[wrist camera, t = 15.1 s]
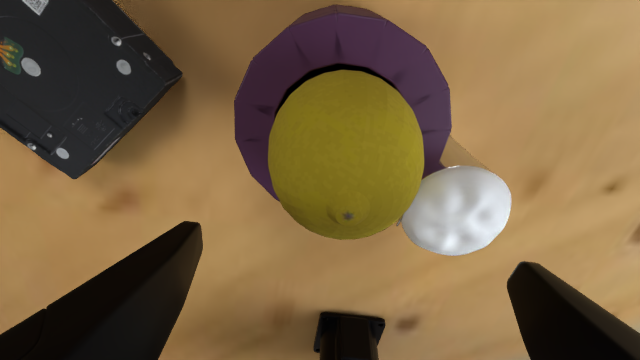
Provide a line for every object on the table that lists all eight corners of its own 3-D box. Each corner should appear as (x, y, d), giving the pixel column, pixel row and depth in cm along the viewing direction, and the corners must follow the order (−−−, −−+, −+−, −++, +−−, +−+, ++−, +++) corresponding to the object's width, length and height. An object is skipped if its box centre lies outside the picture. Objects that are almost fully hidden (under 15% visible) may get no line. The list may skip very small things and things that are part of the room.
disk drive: (190, 70, 19) (-96, -216, 13) (170, 81, 16) (-192, -262, 10) (102, 162, 22) (-151, -26, 16) (75, 183, 20) (-232, -28, 14)
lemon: (418, 72, 14) (503, 152, 7) (375, 174, 17) (404, 303, 10) (298, 36, 13) (262, 85, 6) (274, 149, 16) (231, 266, 9)
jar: (389, 157, 21) (414, 228, 15) (265, 140, 21) (236, 206, 14) (428, 17, 17) (488, 34, 10) (271, -6, 16) (232, -4, 10)
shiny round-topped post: (386, 88, 19) (431, 171, 10) (463, 118, 19) (565, 219, 11) (356, 151, 21) (372, 262, 12) (425, 176, 22) (486, 296, 13)
